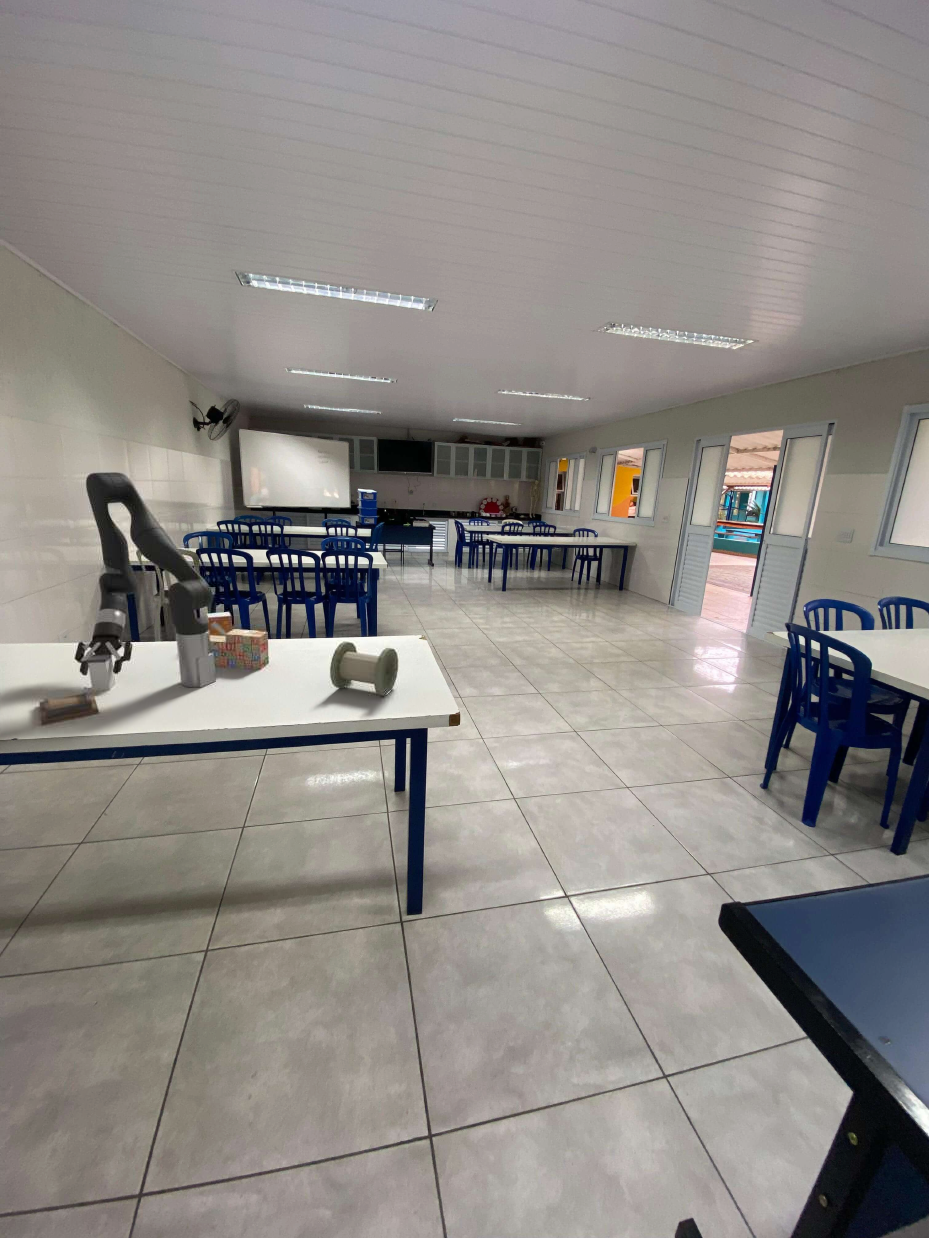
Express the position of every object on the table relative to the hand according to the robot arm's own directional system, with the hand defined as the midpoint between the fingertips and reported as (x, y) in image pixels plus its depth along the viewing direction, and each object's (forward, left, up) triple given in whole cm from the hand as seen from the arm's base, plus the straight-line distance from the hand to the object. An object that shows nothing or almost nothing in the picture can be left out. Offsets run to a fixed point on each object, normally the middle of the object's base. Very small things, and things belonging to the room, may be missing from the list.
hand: (99, 673), depth 146 cm
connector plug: (+1, -1, -5) cm, 5 cm away
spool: (-71, -34, -5) cm, 79 cm away
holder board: (-5, +13, -5) cm, 15 cm away
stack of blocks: (-19, -34, -5) cm, 39 cm away
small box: (0, -46, -5) cm, 46 cm away
